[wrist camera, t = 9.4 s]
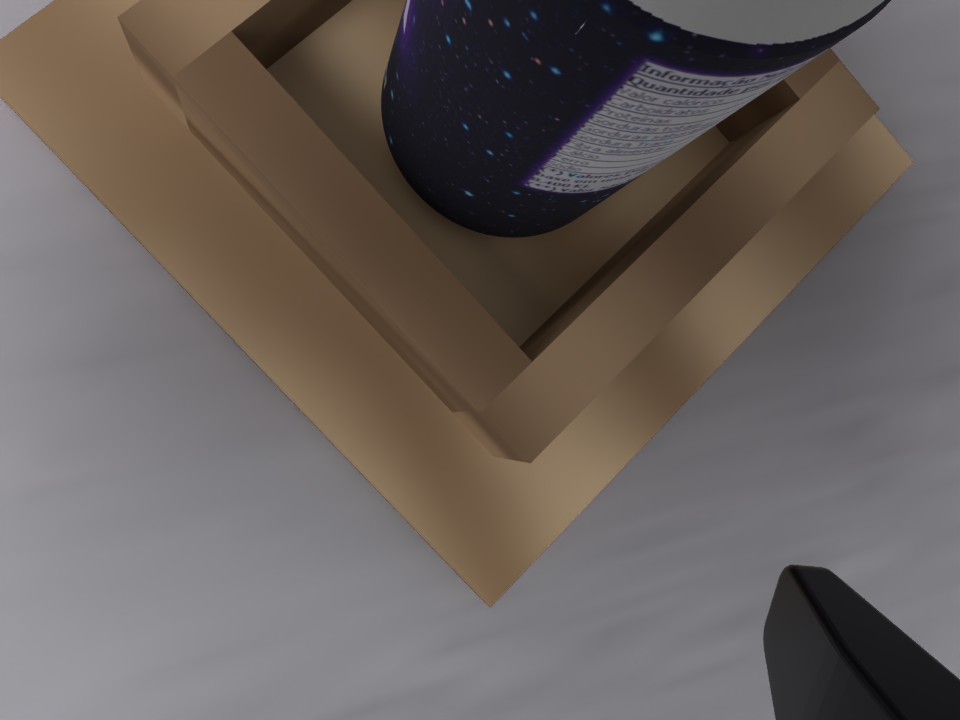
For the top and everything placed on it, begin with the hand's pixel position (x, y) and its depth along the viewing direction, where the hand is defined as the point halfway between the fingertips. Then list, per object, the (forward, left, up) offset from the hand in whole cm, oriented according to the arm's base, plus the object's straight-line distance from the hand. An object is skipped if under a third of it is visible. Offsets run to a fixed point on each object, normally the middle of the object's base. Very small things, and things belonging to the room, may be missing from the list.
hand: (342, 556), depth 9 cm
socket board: (+9, +3, -11) cm, 14 cm away
